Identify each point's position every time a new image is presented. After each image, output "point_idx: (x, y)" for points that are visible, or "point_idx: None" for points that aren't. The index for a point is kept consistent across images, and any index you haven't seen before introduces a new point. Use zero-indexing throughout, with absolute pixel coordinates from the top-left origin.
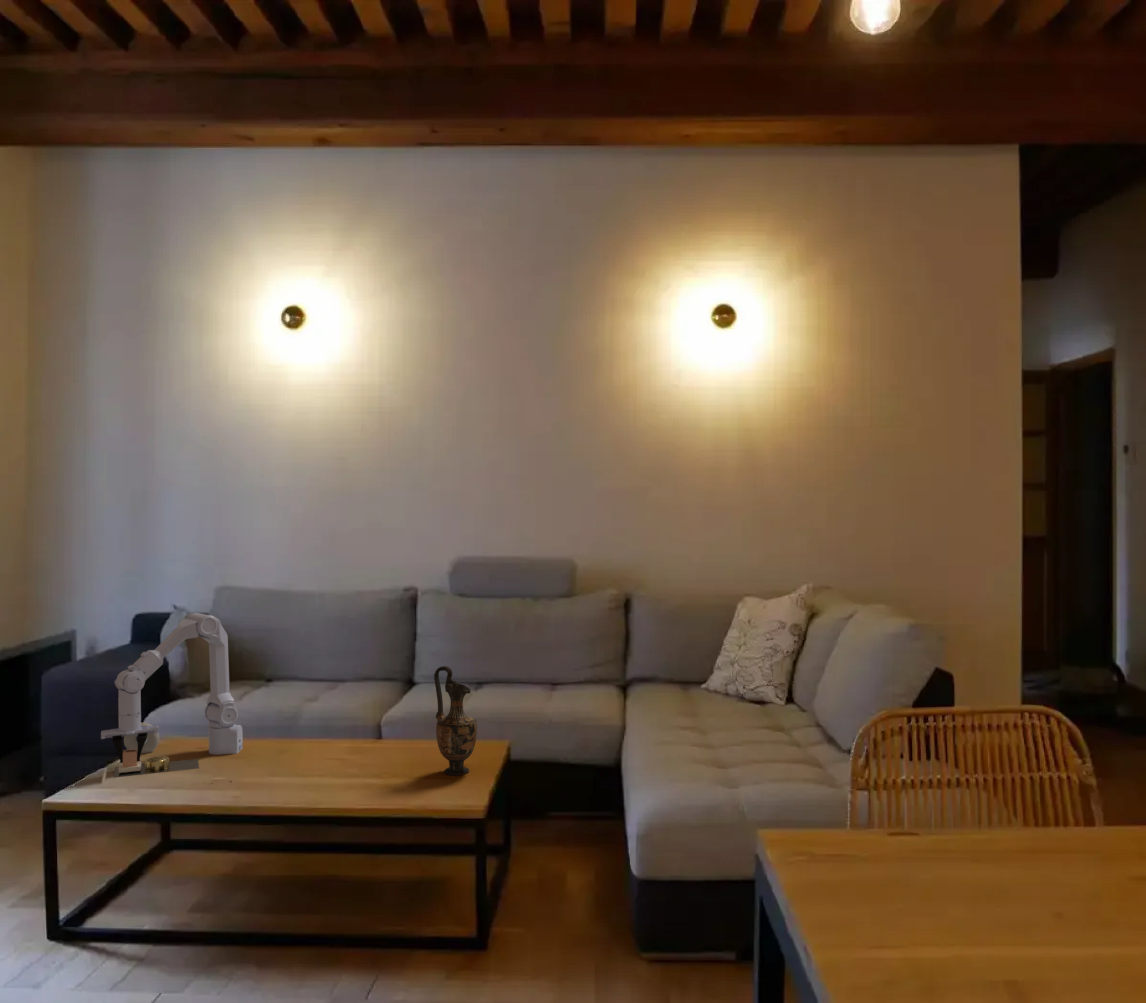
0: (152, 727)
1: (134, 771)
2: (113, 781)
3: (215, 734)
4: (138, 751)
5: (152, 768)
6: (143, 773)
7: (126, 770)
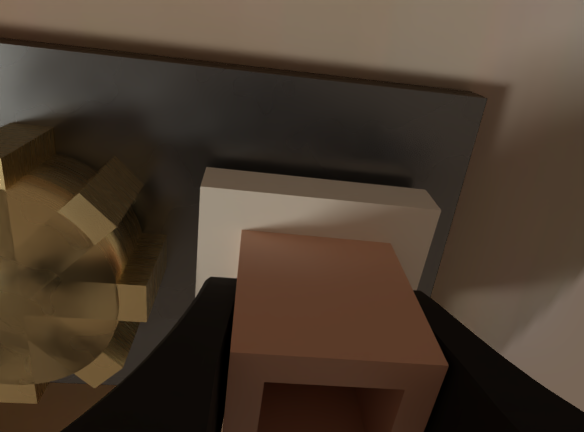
0: None
1: None
2: (472, 86)
3: None
4: (203, 348)
5: (76, 171)
6: (179, 94)
7: (353, 190)
